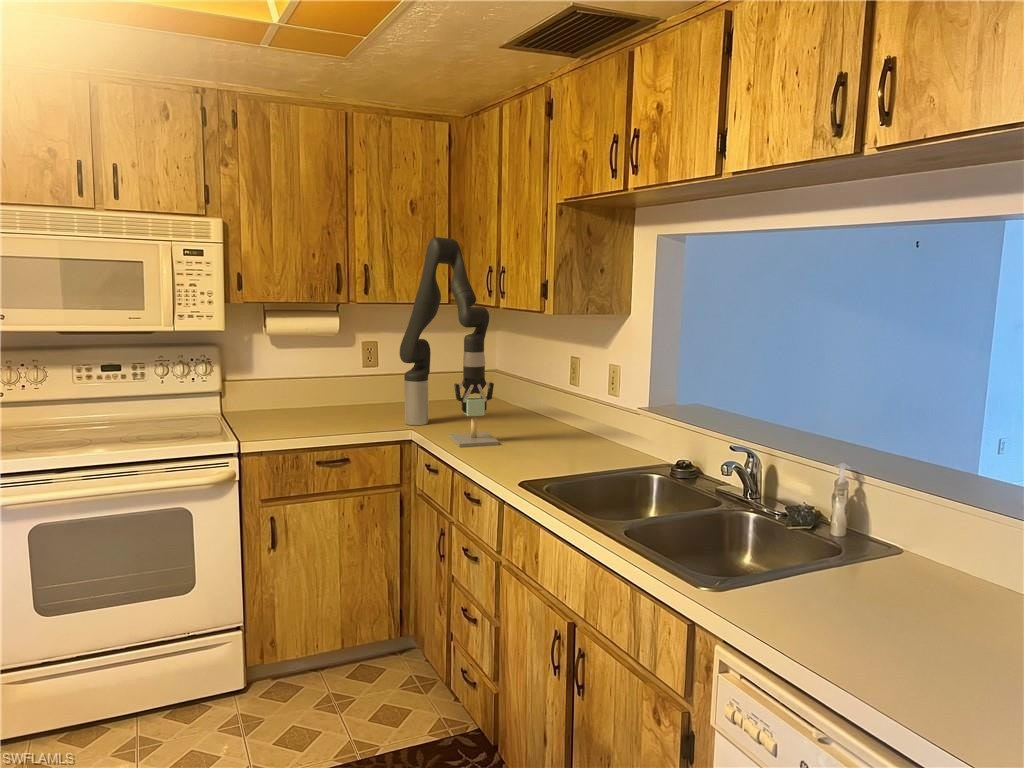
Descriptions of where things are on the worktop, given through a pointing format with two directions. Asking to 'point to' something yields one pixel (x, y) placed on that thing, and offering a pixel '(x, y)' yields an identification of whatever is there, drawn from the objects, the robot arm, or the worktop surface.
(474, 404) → the collar
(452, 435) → the board
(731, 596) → the worktop surface
